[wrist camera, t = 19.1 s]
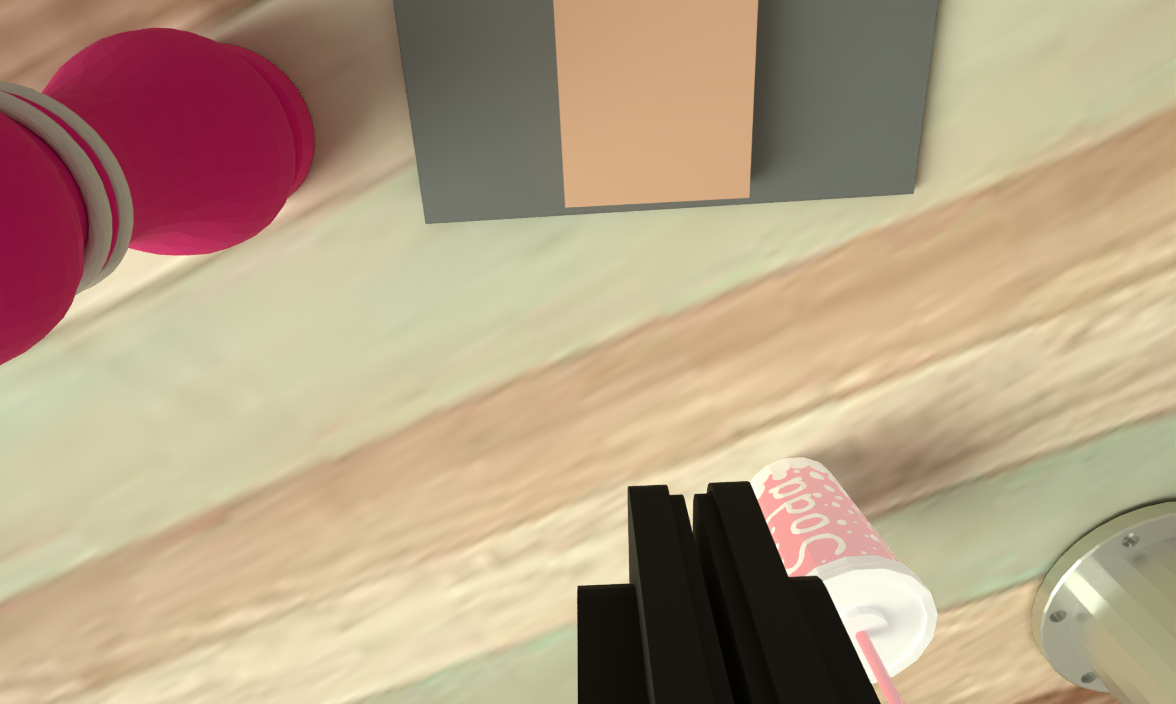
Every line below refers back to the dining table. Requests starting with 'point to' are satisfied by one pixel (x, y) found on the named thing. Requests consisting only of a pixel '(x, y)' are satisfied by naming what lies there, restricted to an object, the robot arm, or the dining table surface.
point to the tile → (655, 99)
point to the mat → (780, 111)
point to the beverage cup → (847, 566)
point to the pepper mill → (138, 165)
